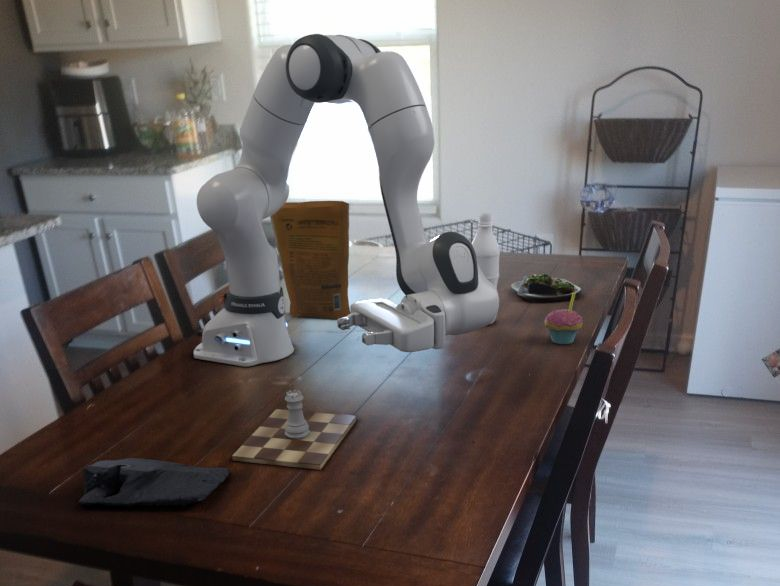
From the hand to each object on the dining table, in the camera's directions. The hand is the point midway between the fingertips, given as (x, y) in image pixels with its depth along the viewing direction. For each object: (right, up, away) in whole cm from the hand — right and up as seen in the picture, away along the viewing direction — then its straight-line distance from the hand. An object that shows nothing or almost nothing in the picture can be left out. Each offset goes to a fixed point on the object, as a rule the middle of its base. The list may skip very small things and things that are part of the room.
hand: (351, 332), depth 146 cm
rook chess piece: (-10, -18, +4) cm, 21 cm away
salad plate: (+48, +27, +76) cm, 93 cm away
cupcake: (+46, +8, +44) cm, 64 cm away
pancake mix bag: (-11, +18, +65) cm, 68 cm away
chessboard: (-10, -18, +4) cm, 21 cm away
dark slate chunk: (-31, -28, -10) cm, 43 cm away
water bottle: (+29, +15, +57) cm, 66 cm away
